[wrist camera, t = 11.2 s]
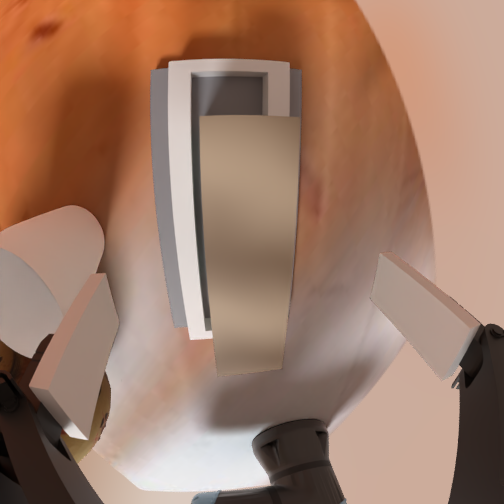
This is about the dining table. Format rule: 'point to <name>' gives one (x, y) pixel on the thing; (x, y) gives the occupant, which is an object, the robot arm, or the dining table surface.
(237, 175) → the beige textured block
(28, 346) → the cup
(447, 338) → the robot arm
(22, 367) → the ceramic jug
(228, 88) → the track base
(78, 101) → the dining table surface
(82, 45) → the dining table surface
